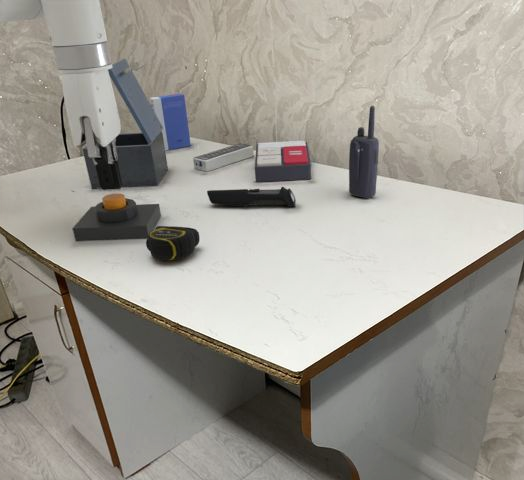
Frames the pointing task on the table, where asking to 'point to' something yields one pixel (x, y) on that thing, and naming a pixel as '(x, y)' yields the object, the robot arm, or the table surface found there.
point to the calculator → (282, 161)
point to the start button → (114, 201)
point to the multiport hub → (223, 157)
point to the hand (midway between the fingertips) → (112, 187)
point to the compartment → (135, 160)
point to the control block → (117, 222)
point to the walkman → (172, 120)
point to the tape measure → (172, 242)
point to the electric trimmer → (252, 197)
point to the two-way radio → (364, 161)
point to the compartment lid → (135, 97)
